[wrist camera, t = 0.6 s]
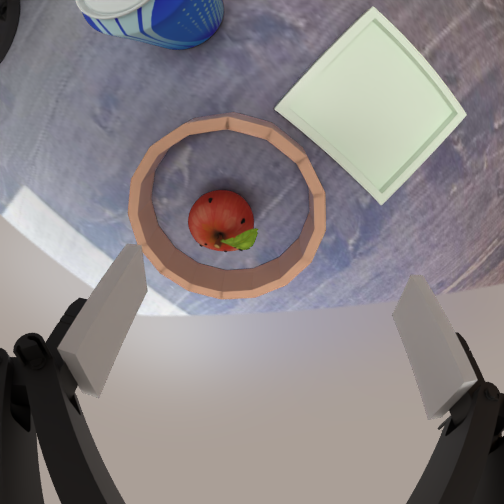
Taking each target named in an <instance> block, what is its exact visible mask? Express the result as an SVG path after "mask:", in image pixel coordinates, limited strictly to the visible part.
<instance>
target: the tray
mask: <svg viewBox="0 0 504 504" xmlns="http://www.w3.org/2000/svg"><path fill="white" fill-rule="evenodd" d="M274 109H275V110H276V111H277V112H278V113H280V114H281V115H282V116H284V117H285V118H286V119H287V120H289V121H290V122H291V123H292V124H293V125H295V126H296V127H297V128H298V129H300V130H301V131H302V132H303V133H304V134H306V135H307V136H308V137H309V138H310V139H311V140H313V141H314V142H315V143H316V144H317V145H318V146H319V147H321V148H322V149H323V150H324V151H325V152H326V153H327V154H329V155H330V156H331V157H332V158H333V159H334V160H335V161H336V162H337V163H338V164H340V165H341V166H342V167H343V168H344V169H345V170H346V171H347V172H348V173H349V174H350V175H351V176H352V177H353V178H354V179H355V180H356V181H357V182H359V183H360V184H361V185H362V186H363V187H364V188H365V189H366V190H367V191H368V192H369V193H370V194H371V195H372V196H373V197H374V198H375V199H376V200H377V201H378V202H379V204H380V205H382V204H383V203H384V202H385V201H386V200H387V199H388V198H389V197H390V196H391V195H392V194H393V193H394V192H395V191H396V190H397V189H398V188H399V187H400V186H401V185H402V184H403V183H404V182H405V181H406V180H407V179H408V178H409V177H410V176H411V175H412V174H413V173H414V172H415V171H416V170H417V169H418V168H419V167H420V166H421V164H422V163H423V162H424V161H425V160H426V159H427V158H428V157H429V156H430V155H431V154H432V153H433V152H434V151H435V150H436V149H437V147H438V146H439V145H440V144H441V143H442V142H443V141H444V140H445V139H446V138H447V137H448V135H449V134H450V133H451V132H452V131H453V130H454V129H455V128H456V127H457V125H458V124H459V123H460V122H461V121H462V120H463V119H464V118H465V116H466V115H467V114H466V113H465V111H464V110H463V108H462V107H461V105H460V104H459V102H458V101H457V100H456V98H455V97H454V95H453V94H452V93H451V91H450V90H449V89H448V87H447V86H446V85H445V83H444V82H443V81H442V79H441V78H440V77H439V75H438V74H437V73H436V72H435V71H434V69H433V68H432V67H431V66H430V64H429V63H428V62H427V61H426V60H425V59H424V57H423V56H422V55H421V54H420V53H419V52H418V51H417V49H416V48H415V47H414V46H413V45H412V44H411V43H410V42H409V41H408V40H407V39H406V38H405V37H404V35H403V34H402V33H401V32H400V31H399V30H398V29H397V28H396V27H395V26H394V25H393V24H392V23H390V22H389V21H388V20H387V19H386V18H385V17H384V16H383V15H382V14H381V13H380V12H379V11H378V10H377V9H375V8H374V7H371V8H370V9H368V10H367V11H366V12H365V13H364V14H363V15H361V16H360V17H359V18H358V19H357V20H356V21H355V22H354V23H353V24H352V25H351V26H350V27H349V28H348V29H347V30H346V31H345V32H344V33H343V34H342V35H341V36H340V37H339V38H338V39H337V40H336V41H335V42H334V43H333V44H332V45H331V46H330V47H329V48H328V49H327V50H326V51H325V52H324V53H323V54H322V55H321V56H320V57H319V58H318V59H317V60H316V61H315V63H314V64H313V65H312V66H311V67H310V68H309V69H308V70H307V71H306V72H305V73H304V74H303V75H302V76H301V78H300V79H299V80H298V81H297V82H296V83H295V84H294V85H293V86H292V87H291V89H290V90H289V91H288V92H287V93H286V94H285V95H284V96H283V98H282V99H281V100H280V101H279V102H278V103H277V104H276V106H275V107H274Z"/></svg>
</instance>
